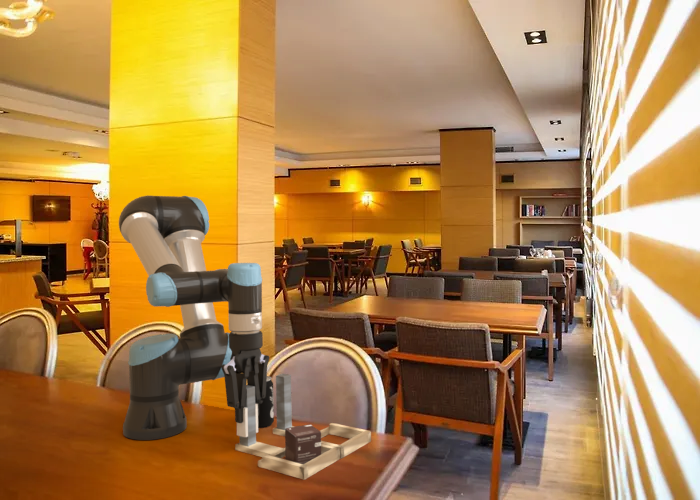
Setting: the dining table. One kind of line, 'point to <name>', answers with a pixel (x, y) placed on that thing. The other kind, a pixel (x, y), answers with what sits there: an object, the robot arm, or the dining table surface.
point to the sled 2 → (354, 434)
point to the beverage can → (266, 406)
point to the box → (302, 443)
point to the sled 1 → (280, 449)
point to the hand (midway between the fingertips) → (247, 433)
